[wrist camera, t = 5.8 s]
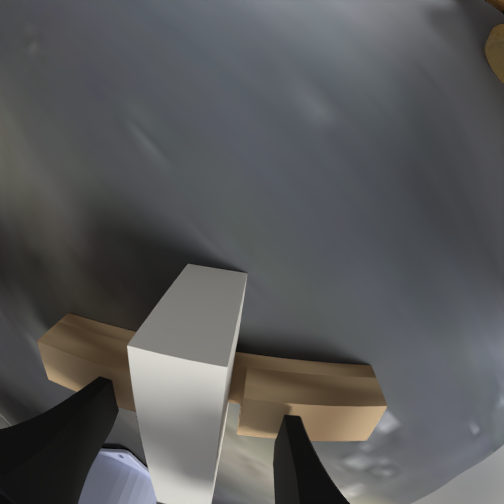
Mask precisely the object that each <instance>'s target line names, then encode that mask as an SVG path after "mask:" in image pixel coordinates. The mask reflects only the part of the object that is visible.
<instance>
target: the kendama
mask: <svg viewBox="0 0 504 504" xmlns="http://www.w3.org/2000/svg"><path fill="white" fill-rule="evenodd" d="M485 1H486V2H488V3H489V4H491V5H492V6H493V7H495V8H496V9H498V10H499V11H500V12H502V13H503V14H504V0H485ZM484 51H485V56H486V59H487V61H488V63H489V65H490V67H491V69H492V70H493V72H494V73H495V74H496V76H497V77H498V78H499V79H500V81H501V82H502V83H503V84H504V24H499V25H496V26H494V27H493V28H492V30H491V31H490V34H489V37H488V39H487V41H486V44H485V48H484Z"/></svg>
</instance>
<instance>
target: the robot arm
mask: <svg viewBox="0 0 504 504" xmlns="http://www.w3.org/2000/svg"><path fill="white" fill-rule="evenodd" d="M118 411H119V410H118V406H117V401H116V397H115V392H114V387H113V382H112V380H110V379H107V378H104V377H101V376H99V377H98V378H96V379H95V380H93V381H92V382H91V383H89V384H88V385H86V386H85V387H84V388H82V389H81V390H79V391H78V392H76V393H75V394H74V395H72V396H71V397H69V398H68V399H66V400H65V401H63V402H62V403H60V404H58V405H57V406H55V407H53V408H52V409H50V410H48V411H46V412H45V413H43V414H41V415H39V416H37V417H35V418H32V419H30V420H28V421H25V422H22V423H20V424H17V425H14V426H11V427H8V428H4V429H0V504H156V502H157V498H156V495H155V491H154V488H153V484H152V481H151V477H150V473H149V469H148V468H147V467H145V466H144V465H143V464H142V463H141V462H140V461H139V460H138V459H137V458H136V457H135V456H134V455H133V454H132V453H130V452H129V451H127V450H124V449H101V448H102V446H103V444H104V442H105V440H106V439H107V437H108V435H109V433H110V431H111V429H112V427H113V424H114V422H115V419H116V416H117V414H118ZM273 469H274V489H275V504H350V503H349V502H348V501H347V500H346V498H345V497H344V496H343V495H342V493H341V492H340V491H339V489H338V488H337V487H336V485H335V484H334V483H333V481H332V480H331V478H330V477H329V475H328V473H327V472H326V470H325V468H324V467H323V465H322V463H321V461H320V460H319V458H318V456H317V454H316V452H315V450H314V448H313V446H312V443H311V441H310V439H309V437H308V434H307V432H306V429H305V427H304V424H303V421H302V418H301V417H300V416H297V415H285V414H284V417H283V420H282V423H281V426H280V429H279V432H278V435H277V438H276V440H275V446H274V460H273Z"/></svg>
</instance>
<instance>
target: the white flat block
mask: <svg viewBox="0 0 504 504" xmlns="http://www.w3.org/2000/svg"><path fill="white" fill-rule="evenodd" d="M246 280H247V273H243V272H236V271H230V270H224V269H217V268H211V267H205V266H199V265H193V264H187V266H186V267H185V268H184V269H183V271H182V272H181V273H180V275H179V276H178V277H177V279H176V280H175V281H174V282H173V284H172V285H171V286H170V288H169V289H168V290H167V292H166V293H165V294H164V296H163V297H162V298H161V300H160V301H159V302H158V304H157V305H156V306H155V308H154V309H153V310H152V312H151V313H150V315H149V316H148V317H147V319H146V320H145V321H144V323H143V324H142V325H141V327H140V328H139V330H138V331H137V332H136V334H135V335H134V336H133V338H132V339H131V341H130V342H129V343H128V345H127V349H128V359H129V367H130V375H131V382H132V389H133V396H134V402H135V408H136V414H137V419H138V424H139V430H140V435H141V439H142V444H143V448H144V453H145V457H146V461H147V465H148V469H149V473H150V477H151V481H152V484H153V488H154V491H155V495H156V498H157V501H158V502H162V503H165V504H211V502H212V497H213V491H214V486H215V480H216V475H217V469H218V464H219V458H220V453H221V447H222V441H223V436H224V430H225V424H226V417H227V410H228V403H229V402H228V399H229V392H230V385H231V378H232V371H233V364H234V357H235V351H236V346H237V340H238V335H239V328H240V321H241V314H242V307H243V300H244V294H245V287H246Z"/></svg>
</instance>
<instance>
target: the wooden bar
mask: <svg viewBox="0 0 504 504" xmlns="http://www.w3.org/2000/svg"><path fill="white" fill-rule="evenodd" d="M135 334H136V332H135V331H131V330H127V329H123V328H119V327H115V326H112V325H108V324H104V323H101V322H97V321H94V320H90V319H87V318H83V317H80V316H77V315H74V314H70V313H68V314H66V315H65V316H64V317H63V318H62V319H61V320H60V321H58V322H57V323H56V324H55V325H54V326H53V327H52V328H51V329H49V330H48V331H47V332H46V333H45V334H44V335H43V336H42V337H41V338H40V339H39V340H37V343H38V347H39V350H40V354H41V357H42V360H43V364H44V367H45V370H46V373H47V376H48V379H49V380H51V381H53V382H56V383H58V384H60V385H62V386H65V387H67V388H69V389H72V390H74V391H77V392H78V391H79V390H81V389H82V388H84V387H85V386H86V385H88V384H89V383H91V382H92V381H93V380H95V379H96V378H98V377H99V376H101V377H104V378H107V379H110V380H112V382H113V387H114V392H115V397H116V401H117V406H118V407H121V408H124V409H127V410H130V411H134V412H136V408H135V402H134V396H133V389H132V382H131V375H130V367H129V359H128V349H127V345H128V343H129V342H130V341H131V339H132V338H133V336H134V335H135ZM228 402H232V403H238V404H241V406H240V414H239V421H238V429H237V434H239V435H247V436H255V437H264V438H275V439H276V438H277V435H278V432H279V429H280V426H281V423H282V420H283V417H284V414H285V415H297V416H300V417H301V418H302V421H303V424H304V427H305V429H306V432H307V434H308V437H309V439H310V441H363V440H367V439H368V437H369V436H370V434H371V433H372V431H373V430H374V428H375V426H376V425H377V423H378V421H379V420H380V418H381V417H382V415H383V413H384V411H385V410H386V408H387V403H386V401H385V398H384V396H383V393H382V391H381V388H380V386H379V383H378V381H377V378H376V376H375V373H374V371H373V369H372V366H371V365H357V364H340V363H327V362H315V361H304V360H294V359H285V358H277V357H269V356H261V355H254V354H247V353H241V352H235V357H234V364H233V371H232V378H231V385H230V392H229V399H228Z"/></svg>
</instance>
